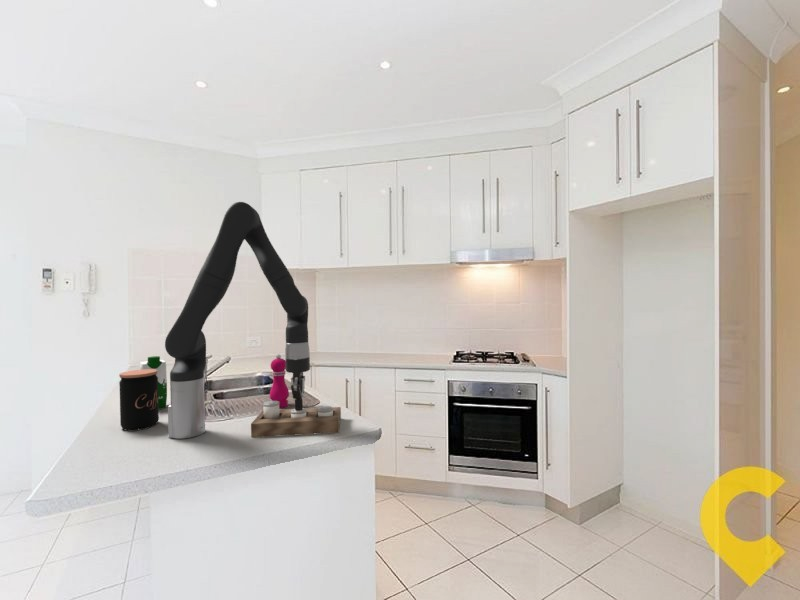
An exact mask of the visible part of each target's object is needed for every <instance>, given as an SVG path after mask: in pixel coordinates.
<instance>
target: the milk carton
mask: <svg viewBox="0 0 800 600" xmlns="http://www.w3.org/2000/svg"><path fill="white" fill-rule="evenodd" d="M160 357H161V356H159V355H158V356H154V355H153V356H148V357H147V361H140V362H139V370H143V369H155V370H158V372H157V374H156V376H157V377H158V405H159V410H160V409H166V408H167V398H168V385H167V384H168V383H167V381H168V379H167V378H168V377H167V375H168V374H167V361H165V360H164V359H161V358H160Z"/></svg>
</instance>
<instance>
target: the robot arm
mask: <svg viewBox="0 0 800 600" xmlns="http://www.w3.org/2000/svg"><path fill="white" fill-rule="evenodd" d="M223 215H224V216H223V218H222V222H221V225H220V226H219V227H220V228H219V231H218V233H217V236H216V239H215V241H214V242H213V245H212V246H211V248H210V250H209V252H208V254H207V257H206V258H205V260H204V263H203V265H202V266H201V268H200V271H199V272H198V275H197V277H196V279H195V282H194V283H193V286H192V288H191V290H190V291H189V295H188V296H187V299H186V300H185V301H186V302H185V303H184V306H183V309H182V310H181V312H180V314H179V315H178V317H177V319H176V320H175V323H174V324H173V325H172V327H171V329H170V330H169V332H168V334H167V336H166V337H165V341H164V348H165V351H166V352H167V354H168V355H169V356H170V357H171V358H174V363H173V366H172V369H171V370H170V372H169V383H170V385H169V386H170V404H169V405H168V406H167V421H168V422H167V427H168V431H167V432H168V433H167V435H168V438H173V439H179V440H180V439H181V440H182V439H190V438H195V437H198V436H200V435H203V434H204V433H205V432H206V415H205V413H206V412H205V405H206V404H205V377H204V376H205V375H204V373H205V369H206V363H207V340H206V336H205V334H204V332H203V328H204V325H205V323H206V321H207V319H208V318H209V316H210V315H211V313H212V312H214V310H215V309H216V307H217V306H218V305H219V303H220V302H221V301H222V299H223V298H224V297H225V295H226V293H227V291H228V290H229V289H228V288H229V287H230V285H231V283H232V280H233V277H234V274H235V271H236V266H237V265H236V264H237V259H238V255H239V252H240V249H241V247H242V244H243V242H244V241H245V242H246V243H247V244H248V246H249V247H250V248H251V250H252V252H253V253H254V255H255V257H256V260H257V262H258V265H259V267H260V269H261V270H262V271H261V272H262V273H263V275H264V277H265V278H266V280H267V281H268V283H269V285H270V286H271V289H273V291H274V292H275V295H276V296H277V299H278V300H279V303H280V305H281V307H282V308H283V310H284V312H286V318H287V319H286V320H287V321H286V322H287V323H286V328H285V350H284V351H285V355H284V357H285V359H284V360H285V361H286V368H285V371H286V372H287V373H289V374H290V373H291V374H292V377H291V378H290V383H291V384H290V385H291V386H290V389H291V394H292V400H293V399H294V409H295V410H296V411H301V410H302V409H303V408H304V403H303V401H304V399H303V398H304V395H305V381H306V375H304V373H306V372H310V370H311V365H310V364H311V361H310V358H311V357H310V345H309V344H310V343H309V328H308V321H309V303H308V300H307V298H306V297H305V295H302V293H301V292H300V290H299V289H298V287H297V286H296V284H295V280H294V279H293V278H294V277H293V276H292V275H291V273H290V271H289V269H288V268H287V266H286V264H285V263H284V261H283V260H282V258H281V257H280V255H279V254H278V252H277V251H276V249H275V248H274V246H273V244H272V243H271V241H270V238H269V236H268V235H267V232H266V231H265V228H264V225H263V222H262V219H261V217H260V214H259V212H258V211H257V210H256V209H255V208H254V207H253V206H251V205H250V204H249V203H246V202H245V201H237V202H234V203H232V204H231V205H230V206H228V208H227V209H226V211H225V213H224V214H223Z"/></svg>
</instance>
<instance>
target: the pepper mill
mask: <svg viewBox="0 0 800 600" xmlns="http://www.w3.org/2000/svg"><path fill="white" fill-rule="evenodd" d="M281 357H282V356H281V354H280V353H279V354H276V356H275V358H274V359H272V361H271V363H270V369H271V370H272V372H271V373H272V374H271V375H272V378H273V379H272V381H273V382H272V386H271V389H270V391H269V398H270V401H279V409H281V407H283V408H286V407H288V405H289V400H288V397H290V392H289V388H288V386H287V384H286V381H285V375H286V374H287V373H286V372H287V371H286V359H284V358H281Z"/></svg>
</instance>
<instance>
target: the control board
mask: <svg viewBox="0 0 800 600" xmlns="http://www.w3.org/2000/svg"><path fill="white" fill-rule="evenodd" d="M318 408H319V407H315V408H314V407H313V408H309V407H308V408H306V417H300V418H291V410H292V409H293V408H289V409H279V419H264V410H262V411H261V412H260V413H259V414H258V415H257V416H256V418H255V419H253V421H251V423H250V436H251V438H259V437H261V438H262V436H264V437H277V436H276V435H283V436H296V435H295V434H302V435H315V434H314V433H321V434H336V433H338V432H339V431H340V428H341V426H340V425H341V420H342V413H341V412H342V411H341V409H342V408H341V406H335V407H334V406H333V416H321V417H318ZM338 434H339V433H338Z"/></svg>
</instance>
